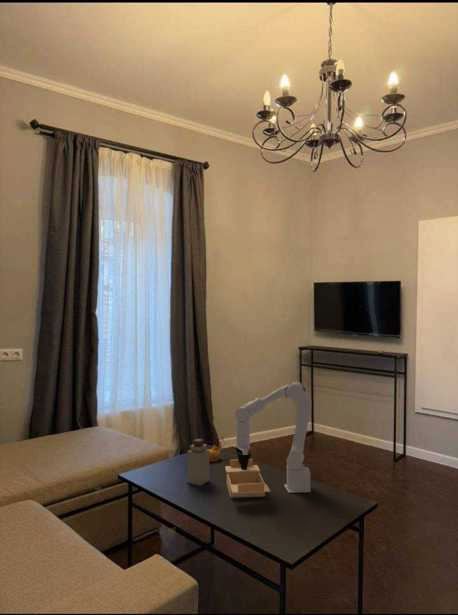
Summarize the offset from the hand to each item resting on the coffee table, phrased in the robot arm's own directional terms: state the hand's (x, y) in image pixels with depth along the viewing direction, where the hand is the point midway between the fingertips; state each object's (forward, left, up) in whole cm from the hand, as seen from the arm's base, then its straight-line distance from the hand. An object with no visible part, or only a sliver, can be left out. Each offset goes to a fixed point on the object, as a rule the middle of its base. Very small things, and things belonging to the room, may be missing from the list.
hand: (242, 466), depth 189 cm
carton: (0, +8, -7) cm, 10 cm away
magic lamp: (+12, -31, -7) cm, 35 cm away
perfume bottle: (+19, -3, -7) cm, 21 cm away
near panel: (0, +20, -2) cm, 20 cm away
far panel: (0, -2, -2) cm, 3 cm away
